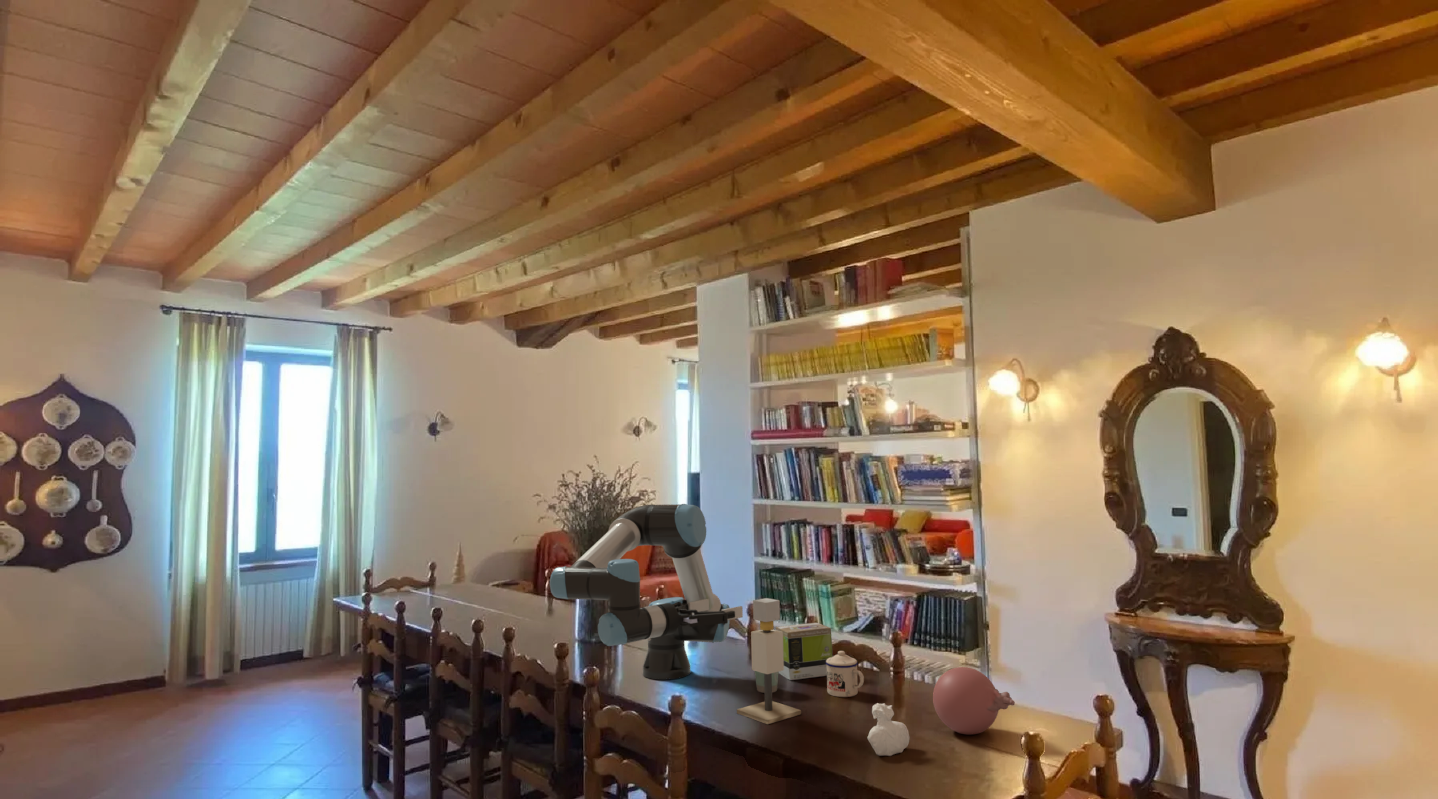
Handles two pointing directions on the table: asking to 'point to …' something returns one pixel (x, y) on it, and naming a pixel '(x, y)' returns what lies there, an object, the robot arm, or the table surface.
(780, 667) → the marker sleeve
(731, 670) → the table surface
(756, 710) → the tan slab base
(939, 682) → the balloon
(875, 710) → the bust
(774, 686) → the coffee cup
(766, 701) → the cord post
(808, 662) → the tea box
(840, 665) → the teacup with lid
